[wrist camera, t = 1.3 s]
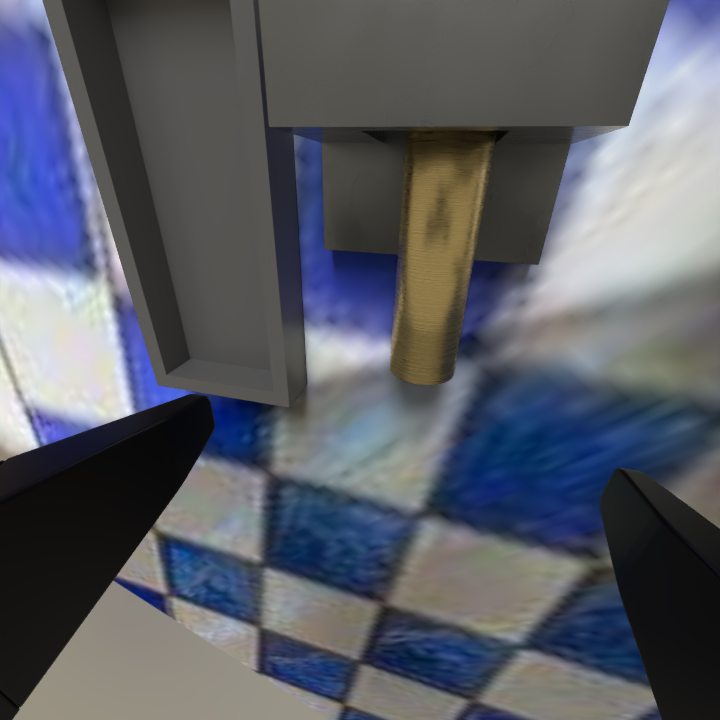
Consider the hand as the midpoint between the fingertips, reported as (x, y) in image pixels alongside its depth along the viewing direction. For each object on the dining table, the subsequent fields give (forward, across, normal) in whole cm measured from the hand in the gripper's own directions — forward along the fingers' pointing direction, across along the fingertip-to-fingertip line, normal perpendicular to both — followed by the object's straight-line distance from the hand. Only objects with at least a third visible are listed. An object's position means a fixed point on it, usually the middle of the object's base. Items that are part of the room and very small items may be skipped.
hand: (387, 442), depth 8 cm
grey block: (+10, 0, -8) cm, 13 cm away
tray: (+10, +10, -4) cm, 15 cm away
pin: (+8, 0, -4) cm, 9 cm away
